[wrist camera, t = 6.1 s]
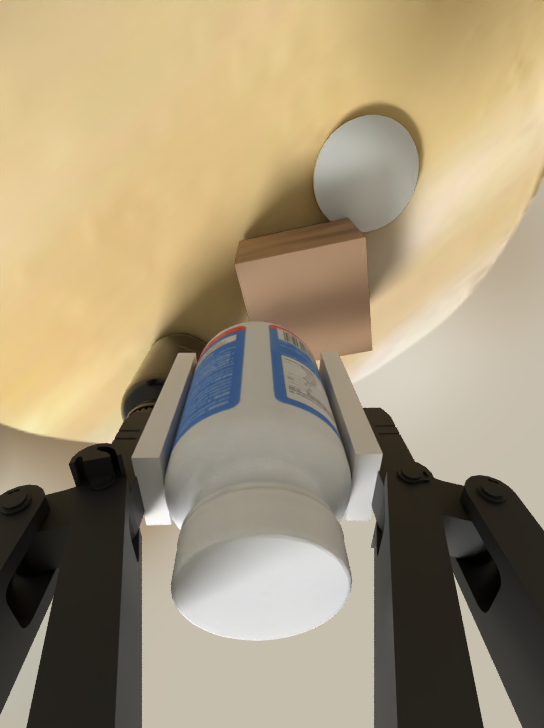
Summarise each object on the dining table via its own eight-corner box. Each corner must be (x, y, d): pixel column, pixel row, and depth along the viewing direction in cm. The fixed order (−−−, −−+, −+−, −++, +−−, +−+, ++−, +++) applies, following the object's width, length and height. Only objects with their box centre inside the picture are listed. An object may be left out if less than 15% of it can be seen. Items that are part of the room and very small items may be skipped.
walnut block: (239, 241, 30) (234, 264, 25) (348, 217, 29) (365, 237, 24) (262, 334, 35) (262, 369, 30) (356, 317, 34) (372, 350, 29)
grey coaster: (314, 117, 26) (315, 116, 26) (422, 113, 26) (427, 112, 26) (312, 233, 30) (313, 234, 30) (406, 228, 30) (410, 230, 30)
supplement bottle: (221, 336, 35) (207, 413, 24) (214, 394, 38) (199, 484, 28) (147, 325, 34) (101, 401, 23) (147, 386, 37) (105, 475, 27)
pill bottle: (203, 423, 18) (151, 662, 9) (190, 319, 15) (99, 515, 7) (315, 419, 18) (368, 652, 9) (320, 316, 15) (399, 504, 7)
